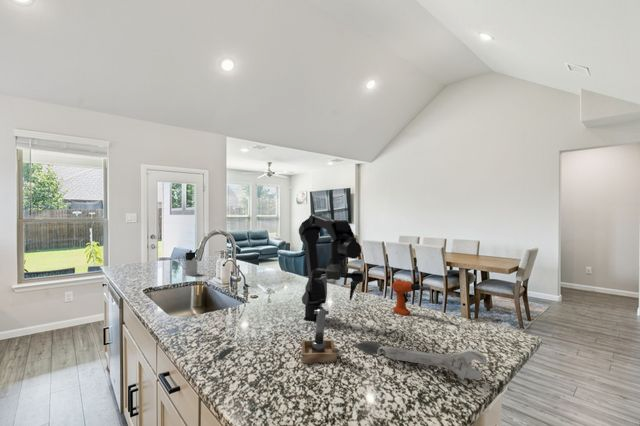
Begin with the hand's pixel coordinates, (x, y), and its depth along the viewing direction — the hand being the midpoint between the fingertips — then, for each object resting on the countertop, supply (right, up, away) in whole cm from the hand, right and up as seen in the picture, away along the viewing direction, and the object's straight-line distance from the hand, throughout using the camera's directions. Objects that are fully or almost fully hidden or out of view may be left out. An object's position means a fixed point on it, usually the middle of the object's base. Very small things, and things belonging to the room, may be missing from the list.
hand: (337, 298), depth 111 cm
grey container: (-99, -13, +106) cm, 146 cm away
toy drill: (+33, -14, +23) cm, 42 cm away
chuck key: (-7, -12, -15) cm, 21 cm away
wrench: (+24, -14, -23) cm, 36 cm away
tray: (-7, -13, -16) cm, 21 cm away
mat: (+10, -13, -11) cm, 20 cm away
